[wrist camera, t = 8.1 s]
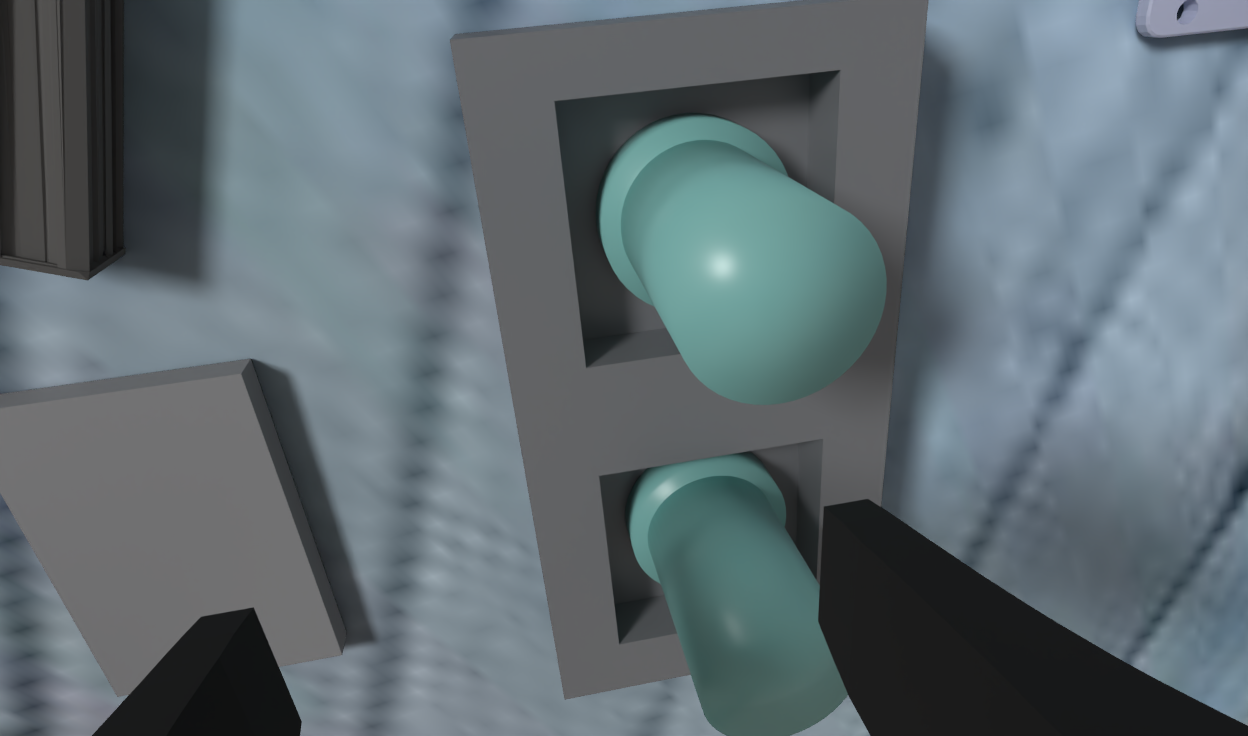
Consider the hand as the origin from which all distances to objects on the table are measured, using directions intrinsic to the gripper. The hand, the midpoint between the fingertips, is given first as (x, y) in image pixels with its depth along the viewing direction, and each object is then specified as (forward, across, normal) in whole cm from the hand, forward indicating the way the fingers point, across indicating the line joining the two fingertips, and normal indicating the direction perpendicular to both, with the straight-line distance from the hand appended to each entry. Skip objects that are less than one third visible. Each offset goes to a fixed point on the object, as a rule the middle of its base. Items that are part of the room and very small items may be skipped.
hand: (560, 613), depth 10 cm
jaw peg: (+9, -4, +6) cm, 11 cm away
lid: (+10, +10, +4) cm, 14 cm away
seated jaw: (+10, -4, -2) cm, 11 cm away
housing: (+10, -4, +2) cm, 11 cm away
